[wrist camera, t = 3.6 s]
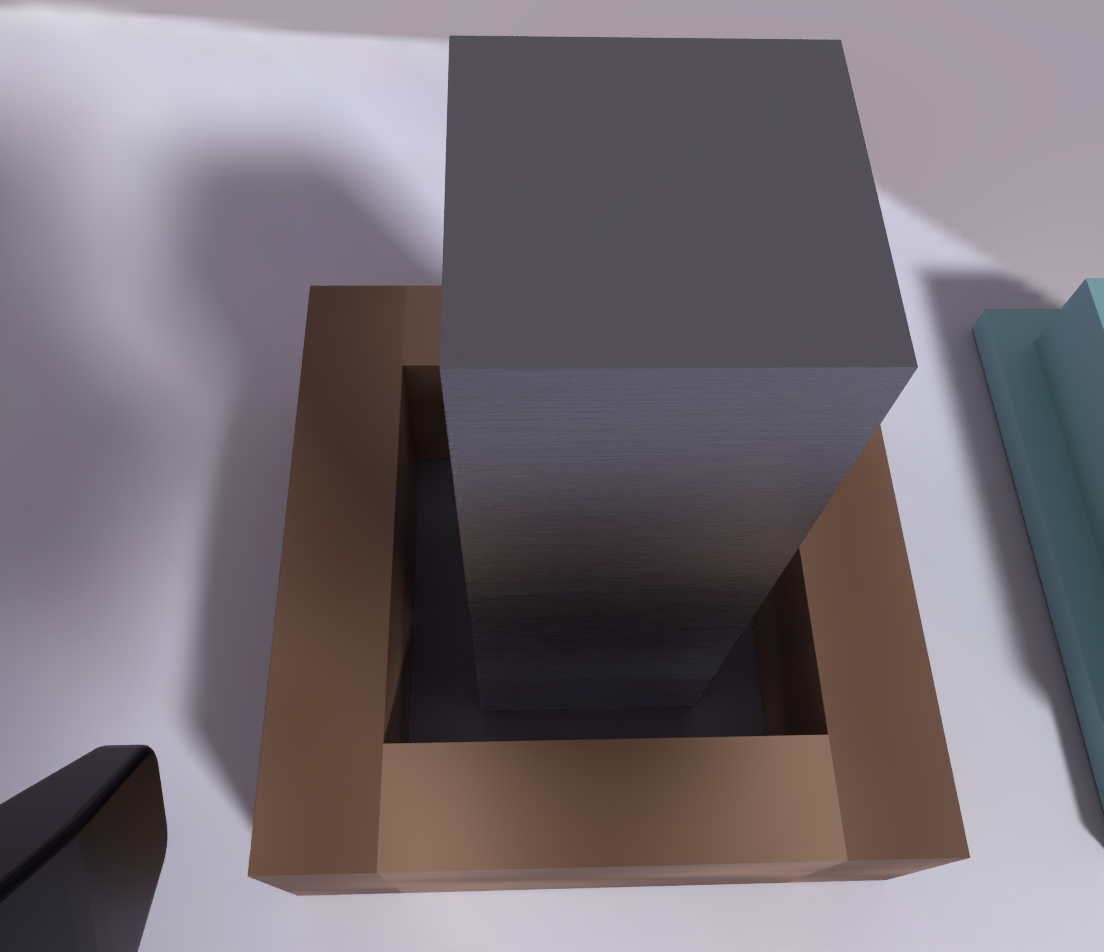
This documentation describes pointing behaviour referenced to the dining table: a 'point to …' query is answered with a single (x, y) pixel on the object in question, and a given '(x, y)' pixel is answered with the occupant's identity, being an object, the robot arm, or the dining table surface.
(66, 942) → the robot arm
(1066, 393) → the cradle
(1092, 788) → the dining table surface
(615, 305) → the square axle
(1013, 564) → the dining table surface
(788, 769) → the bore block
